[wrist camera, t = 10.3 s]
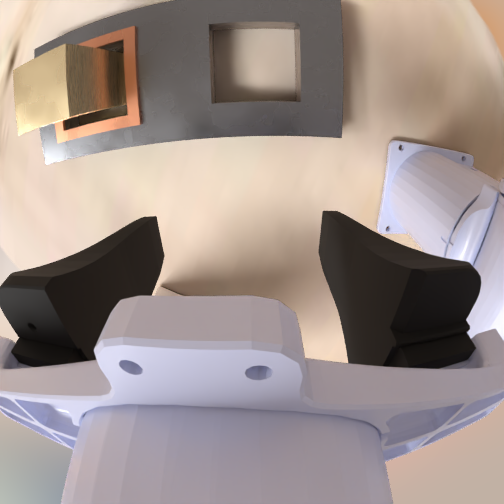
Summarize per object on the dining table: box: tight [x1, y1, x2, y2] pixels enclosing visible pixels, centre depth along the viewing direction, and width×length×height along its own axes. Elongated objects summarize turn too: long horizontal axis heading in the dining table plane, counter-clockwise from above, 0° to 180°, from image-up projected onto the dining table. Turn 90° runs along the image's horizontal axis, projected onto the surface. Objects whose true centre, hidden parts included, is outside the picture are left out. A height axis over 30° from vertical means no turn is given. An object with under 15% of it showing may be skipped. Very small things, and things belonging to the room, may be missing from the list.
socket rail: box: [35, 0, 343, 165], centre depth 15 cm, size 22×10×2 cm, turn 91°
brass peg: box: [13, 43, 127, 135], centre depth 12 cm, size 4×4×8 cm
